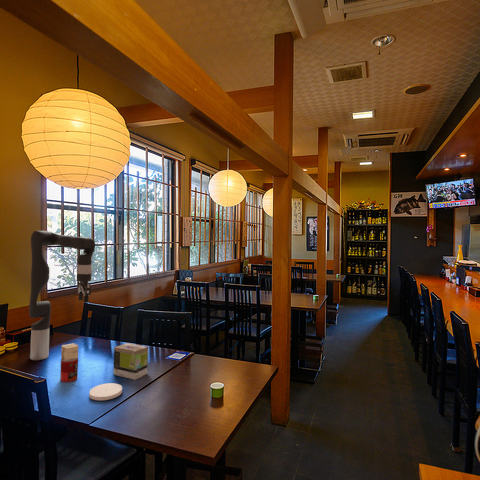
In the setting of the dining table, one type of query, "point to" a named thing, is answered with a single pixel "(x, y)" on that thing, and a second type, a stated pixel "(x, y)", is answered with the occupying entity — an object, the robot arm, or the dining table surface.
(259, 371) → the dining table surface
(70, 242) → the robot arm
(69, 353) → the block
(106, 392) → the plastic lid
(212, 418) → the dining table surface
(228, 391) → the dining table surface
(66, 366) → the canned food
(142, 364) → the tea box
